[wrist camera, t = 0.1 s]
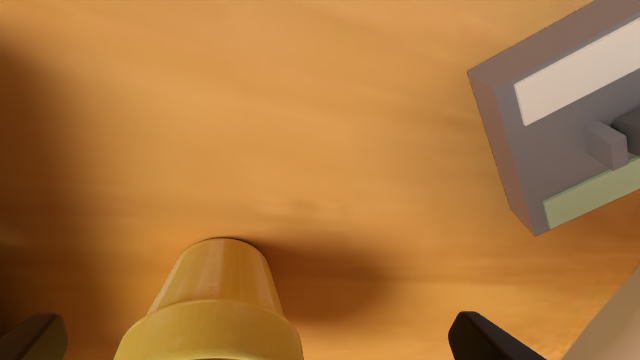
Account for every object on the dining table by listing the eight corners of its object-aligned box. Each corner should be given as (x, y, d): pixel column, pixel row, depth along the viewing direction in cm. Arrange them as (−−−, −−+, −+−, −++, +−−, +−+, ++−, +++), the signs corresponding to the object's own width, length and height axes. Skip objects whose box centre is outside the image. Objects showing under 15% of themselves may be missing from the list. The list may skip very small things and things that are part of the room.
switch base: (466, 71, 22) (515, 104, 18) (724, -71, 19) (851, -71, 15) (510, 209, 28) (554, 258, 24) (708, 115, 26) (794, 151, 22)
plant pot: (235, 333, 32) (226, 472, 24) (117, 281, 27) (56, 433, 19) (322, 262, 29) (347, 394, 20) (206, 189, 24) (179, 324, 16)
